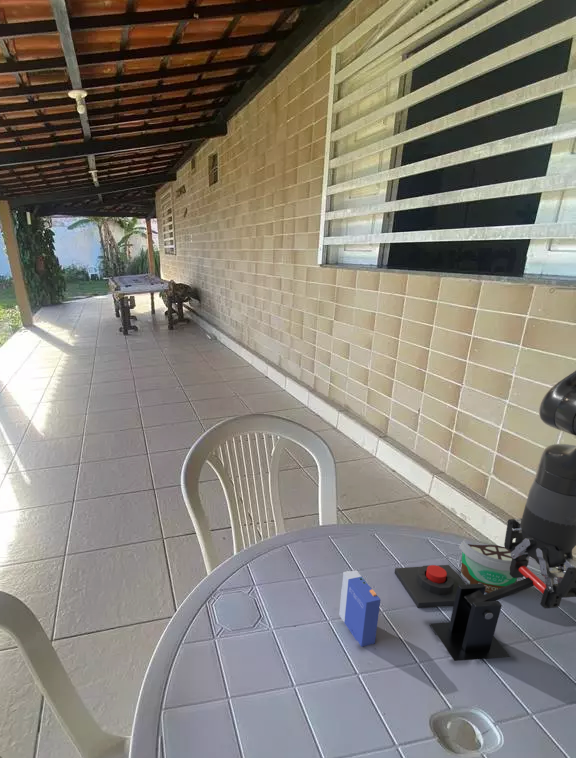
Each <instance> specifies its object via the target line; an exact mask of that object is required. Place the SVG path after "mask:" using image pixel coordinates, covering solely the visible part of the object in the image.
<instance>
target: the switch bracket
mask: <svg viewBox="0 0 576 758" xmlns="http://www.w3.org/2000/svg"><path fill="white" fill-rule="evenodd" d="M485 588H486V587H485V586H484V585H483V584H469V583H466V585H458V588H457V592H456V597H455V602H454V606H452V611H451V616H450V619H449V621H448V622H447V621H446V622H433V623H432V622H431V623H428V626H429V627H430V629H431V630H432V632H433V634H434V635H435V636H436V637H438V639H439V640H440V642H441V643H442V644H443V646H444V648H445V649H446V650H447V651H446V652H447V653H448V654H449V656H450V657H451V658H452V660H453V662H459V661H473V660H475V661H476V660H488V659H503V658H504V659H505V658H512V656H511V655H510V654H509V653H508V651H507V650H506V648H504V647H503V646H502V644H501V643H500V642H499V640H498V639H497V638H496V637H495V632H496V629H497V624H498V621H499V618H500V613H501V609H502V606H503V604H502V603H501V601H499V600H496V601H485V602H473V603H472V607H471V609H470V608H469V607H468V605H467V603H466V600H465V598H464V596H466V595H469V594H471V593H474V592H476V591H479V590H480V592H481V593H482V594H483V595H485V594H486V592H485Z"/></svg>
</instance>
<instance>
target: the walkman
mask: <svg viewBox="0 0 576 758" xmlns="http://www.w3.org/2000/svg"><path fill="white" fill-rule="evenodd" d="M342 573H343V574H342V583H341V589H340V601H339V611H338V616H339V617H340V618H341V620H342V621H343V623H344V625H345V626H346V628H347V629H348V631H349V632H350V633H351V635H352V637H353V638H354V640H355V641H356V642H358V643H359V645H360V647H361V648H362V647H365V646H366V647H367V646H370V645H374V644H376V637H377V629H378V623H379V616H380V615H379V614H380V608H381V598H380V597H379V596H378V595H377V593H376V592H375V590H374V589H373V588H372V587H371V586H370V585H369V583H367V581H366V580H365V579H364V578H363V576H362V575H361V574H360V572H359V571H358V570H356V569H355V570H351V571H350V570H347V571H343V572H342Z"/></svg>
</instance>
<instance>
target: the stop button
mask: <svg viewBox="0 0 576 758" xmlns="http://www.w3.org/2000/svg"><path fill="white" fill-rule="evenodd" d="M429 565H430V566H428V567H427V571H426V577H427V578H428V579H429V580H430V581H432V582H435V583H439V584H440V583H444V582H445V581H446V576H447V573H446V571H445V570H444V569H443V568H441V567H439V566H437V565H436V564H429Z"/></svg>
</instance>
